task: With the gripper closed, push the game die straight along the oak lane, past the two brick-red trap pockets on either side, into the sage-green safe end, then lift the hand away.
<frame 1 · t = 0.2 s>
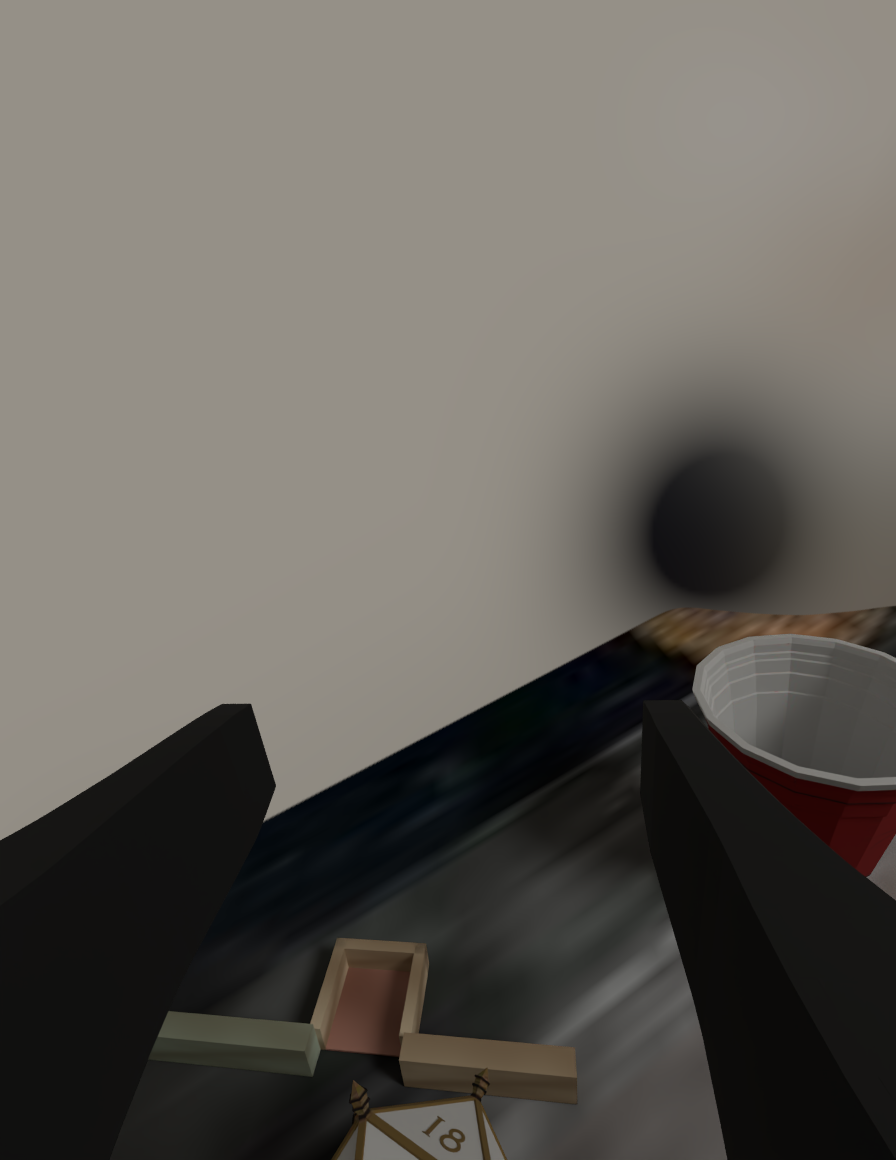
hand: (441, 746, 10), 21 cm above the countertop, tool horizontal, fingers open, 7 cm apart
plastic cup: (784, 878, 30), on the countertop
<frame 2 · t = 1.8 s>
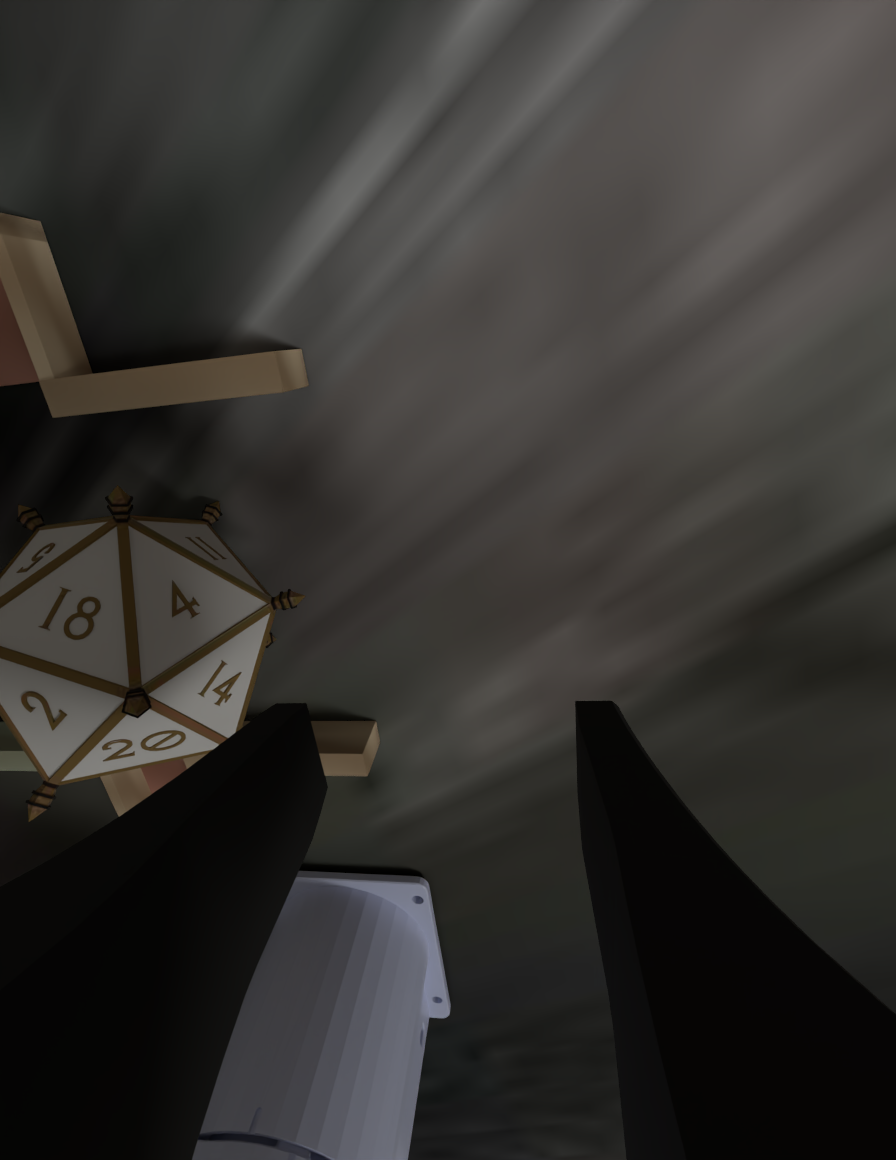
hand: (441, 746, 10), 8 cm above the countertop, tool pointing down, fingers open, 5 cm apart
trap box: (61, 589, 20), on the countertop
game die: (213, 578, 20), on the countertop
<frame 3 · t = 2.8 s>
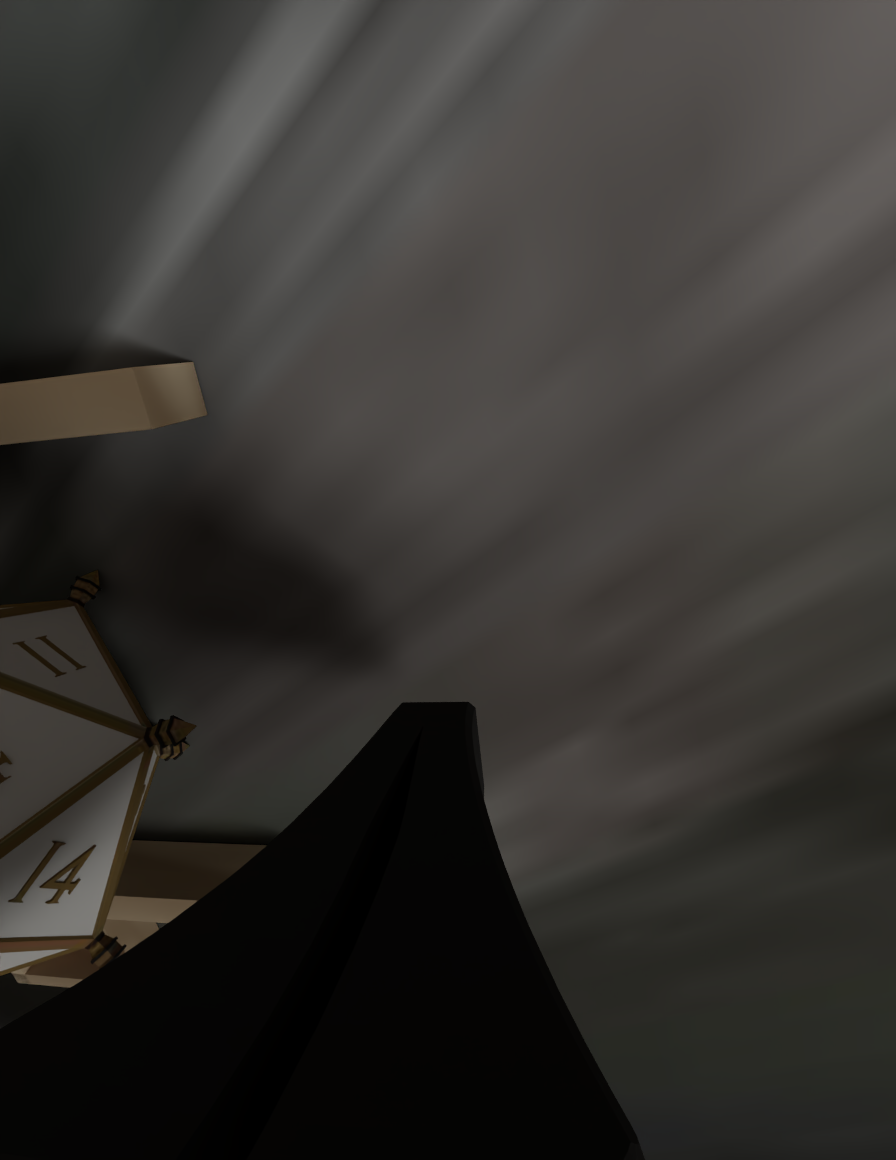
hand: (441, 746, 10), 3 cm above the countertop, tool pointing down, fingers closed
game die: (103, 667, 15), on the countertop
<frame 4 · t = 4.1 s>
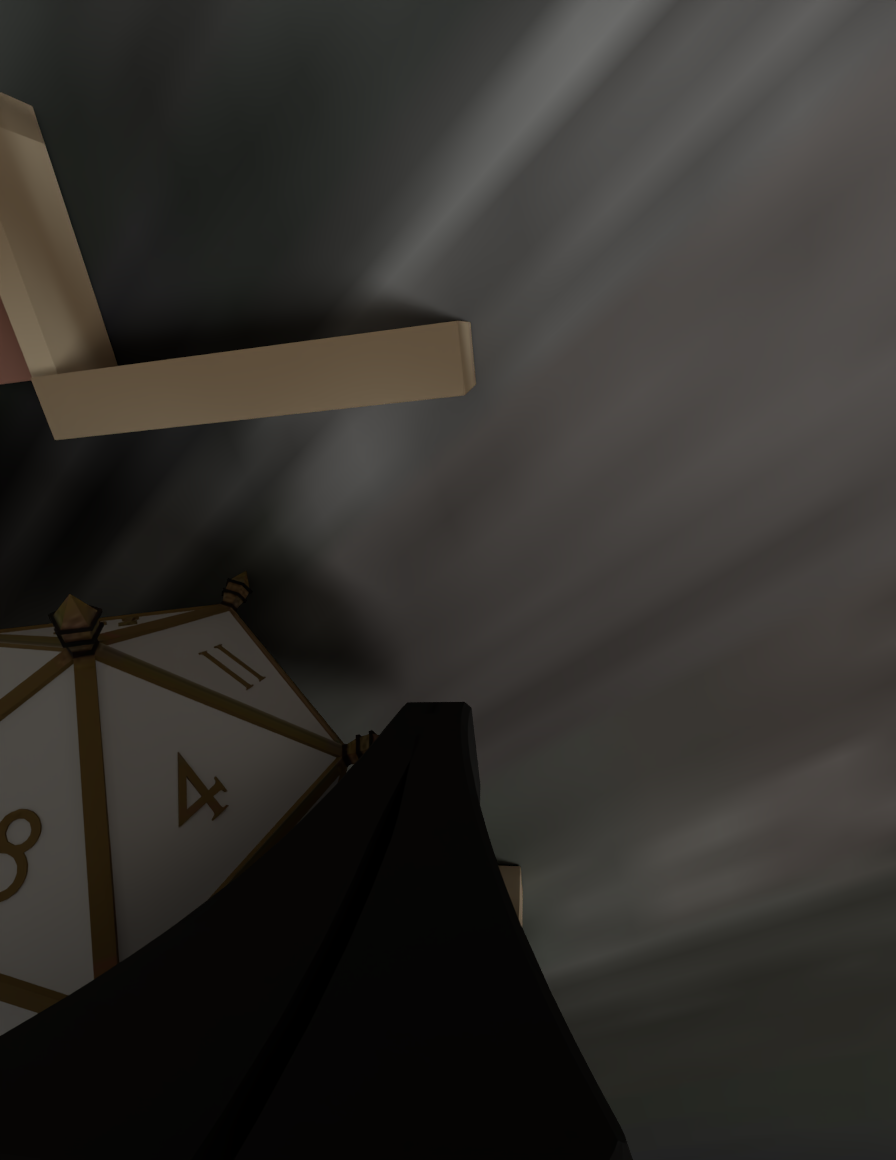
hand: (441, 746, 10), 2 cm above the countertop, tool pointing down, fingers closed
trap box: (67, 681, 14), on the countertop
game die: (239, 676, 13), on the countertop, touching gripper
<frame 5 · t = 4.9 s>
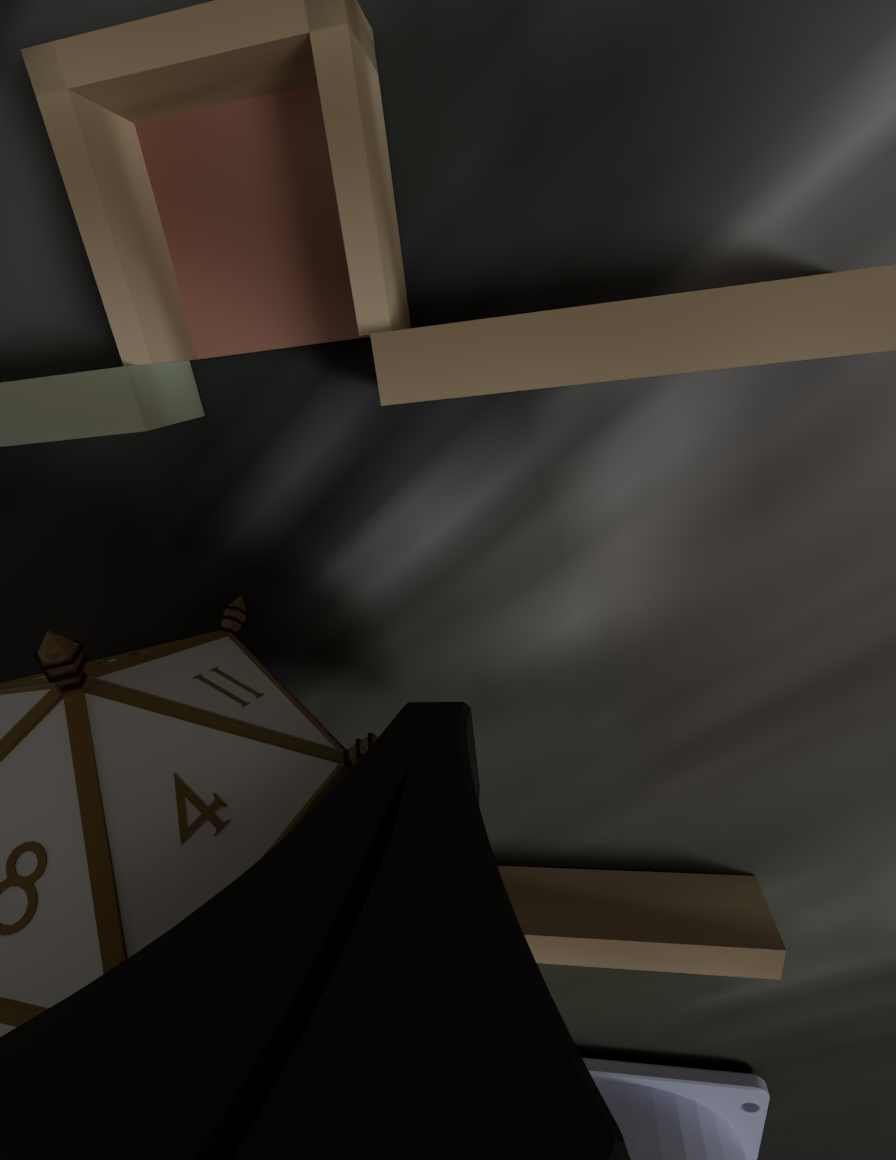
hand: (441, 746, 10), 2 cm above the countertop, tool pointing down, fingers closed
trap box: (278, 677, 13), on the countertop
game die: (253, 701, 14), on the countertop, touching gripper
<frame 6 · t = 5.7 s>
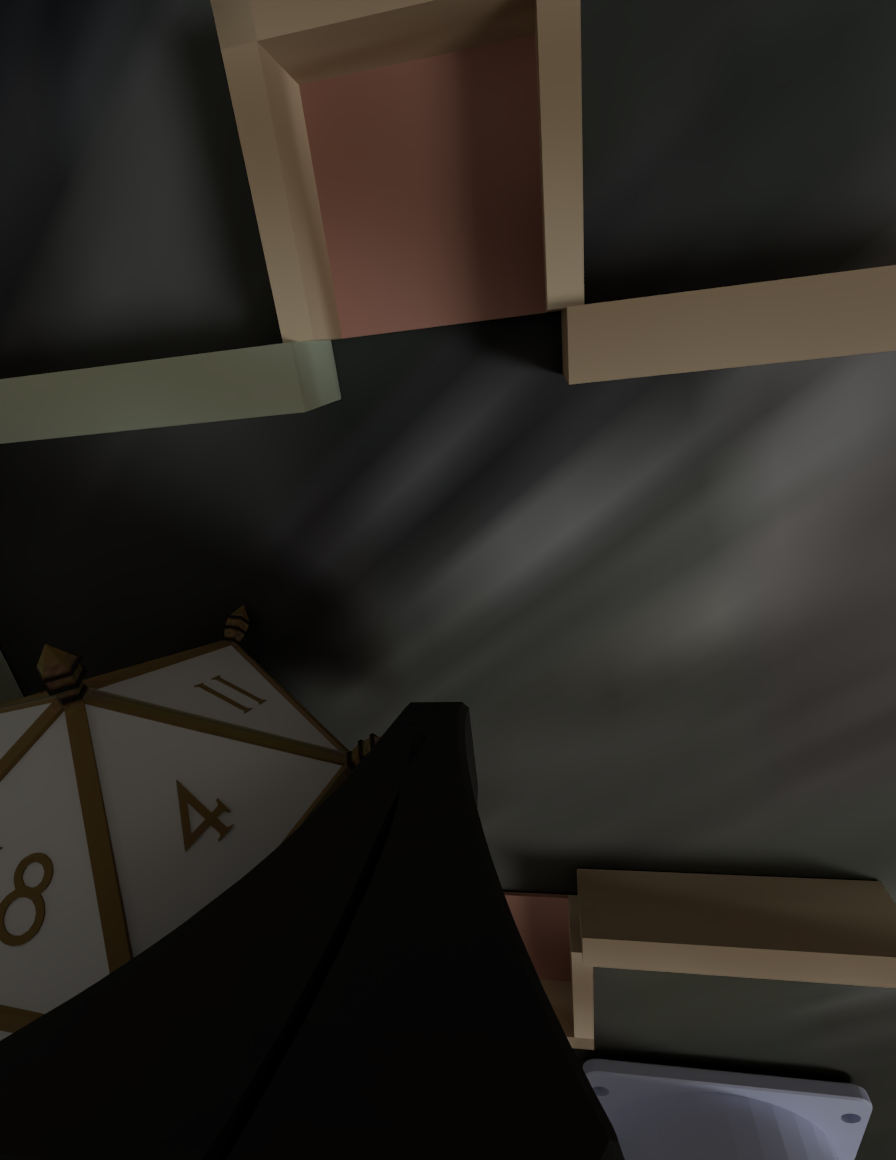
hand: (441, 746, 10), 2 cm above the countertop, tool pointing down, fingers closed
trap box: (390, 674, 13), on the countertop
game die: (261, 709, 14), on the countertop, touching gripper
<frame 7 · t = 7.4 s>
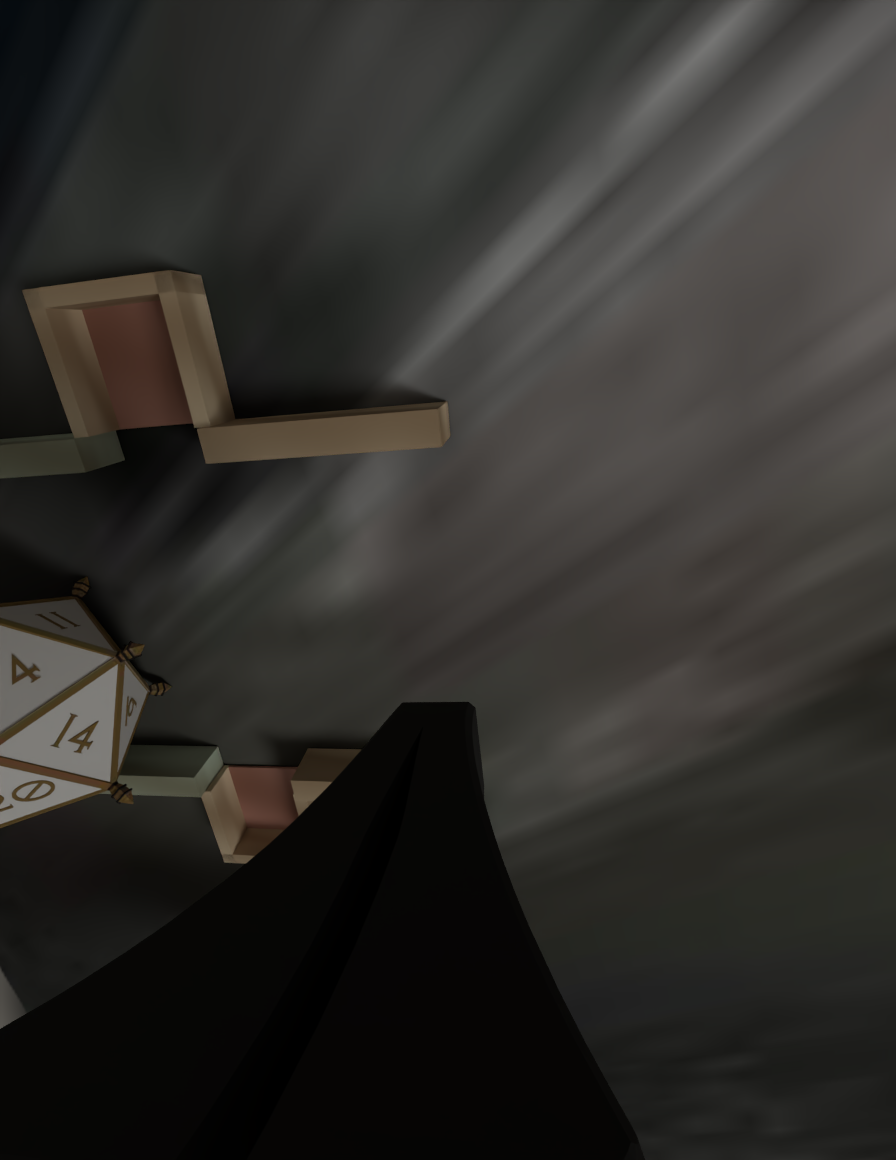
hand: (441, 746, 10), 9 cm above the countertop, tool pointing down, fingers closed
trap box: (176, 619, 21), on the countertop
game die: (107, 643, 22), on the countertop
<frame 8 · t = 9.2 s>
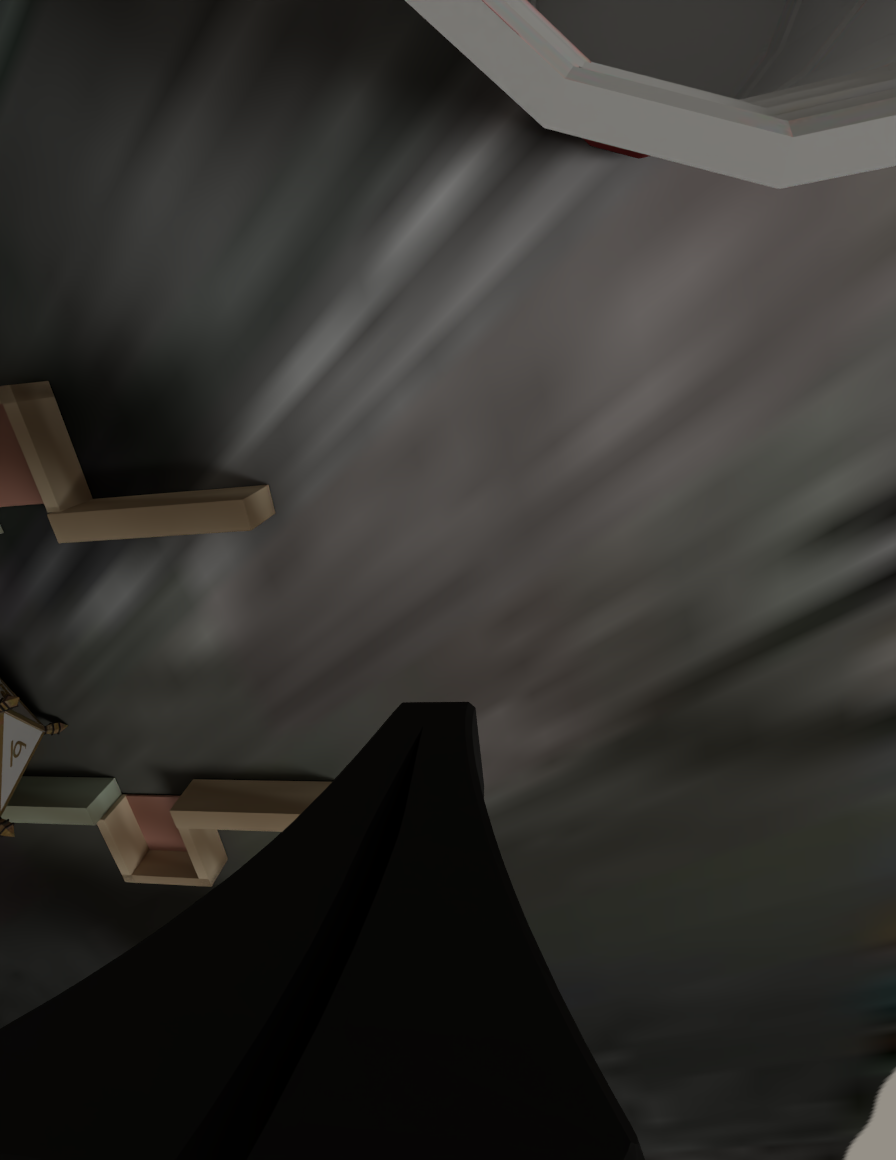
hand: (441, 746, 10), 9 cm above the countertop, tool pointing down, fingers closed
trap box: (64, 667, 23), on the countertop
game die: (9, 687, 25), on the countertop
plastic cup: (650, 19, 13), on the countertop
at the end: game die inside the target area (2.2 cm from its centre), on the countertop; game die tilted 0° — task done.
